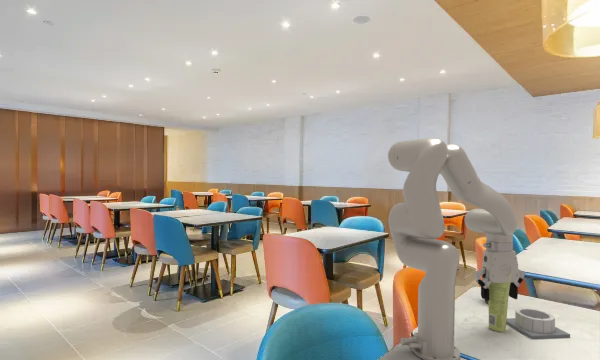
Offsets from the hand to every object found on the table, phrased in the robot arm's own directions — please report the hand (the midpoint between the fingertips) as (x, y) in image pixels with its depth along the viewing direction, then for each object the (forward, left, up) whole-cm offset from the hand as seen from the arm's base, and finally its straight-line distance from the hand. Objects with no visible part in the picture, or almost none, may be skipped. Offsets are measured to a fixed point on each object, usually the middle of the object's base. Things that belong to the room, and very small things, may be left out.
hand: (499, 298), depth 113 cm
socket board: (+12, -1, -10) cm, 15 cm away
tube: (0, 0, -10) cm, 10 cm away
